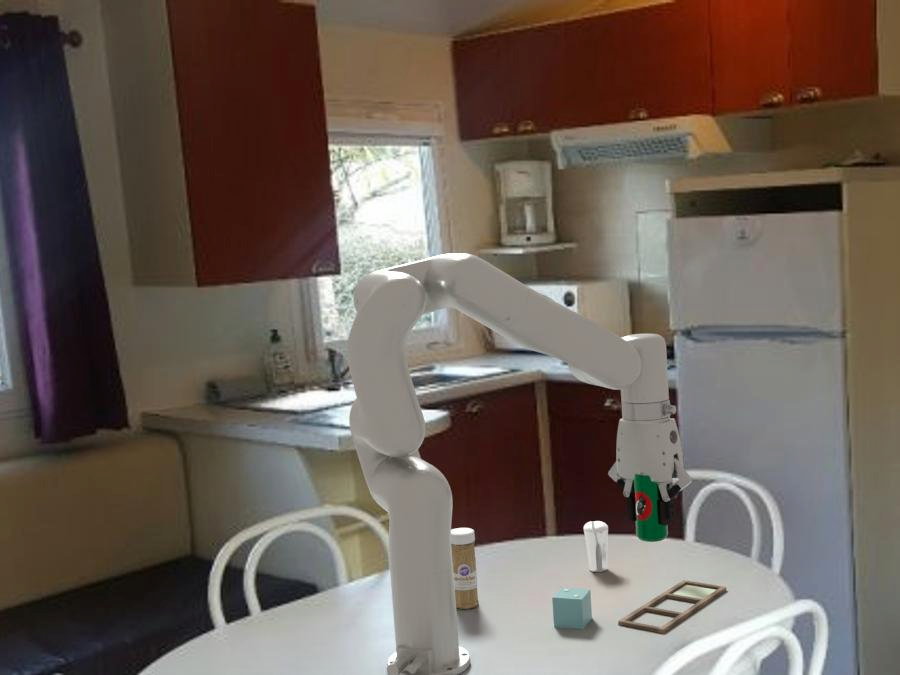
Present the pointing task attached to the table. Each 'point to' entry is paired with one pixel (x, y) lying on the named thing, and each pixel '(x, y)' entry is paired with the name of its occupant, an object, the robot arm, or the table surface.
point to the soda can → (648, 509)
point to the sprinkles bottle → (464, 567)
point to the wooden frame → (681, 591)
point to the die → (572, 608)
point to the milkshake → (596, 545)
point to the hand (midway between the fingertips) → (651, 520)
